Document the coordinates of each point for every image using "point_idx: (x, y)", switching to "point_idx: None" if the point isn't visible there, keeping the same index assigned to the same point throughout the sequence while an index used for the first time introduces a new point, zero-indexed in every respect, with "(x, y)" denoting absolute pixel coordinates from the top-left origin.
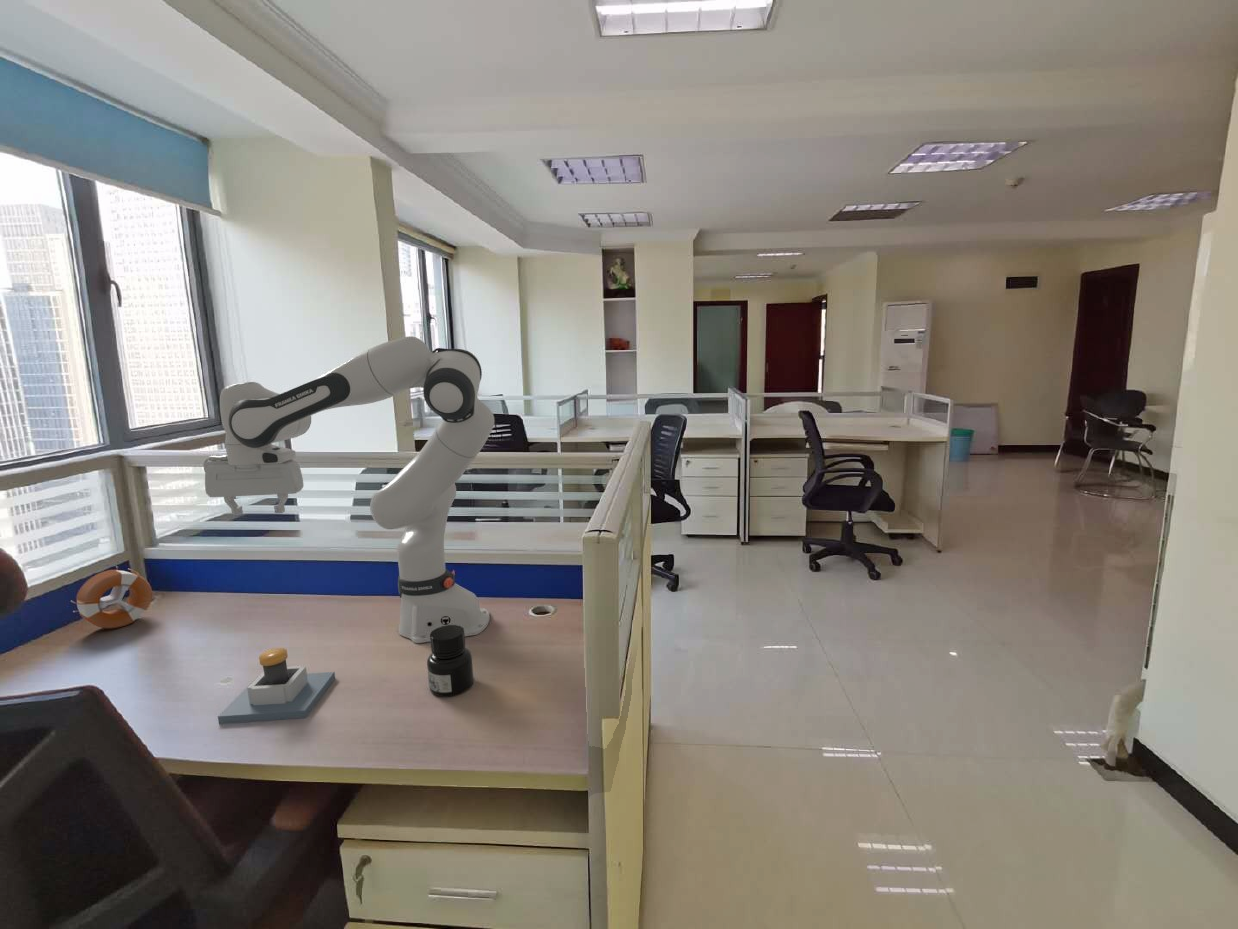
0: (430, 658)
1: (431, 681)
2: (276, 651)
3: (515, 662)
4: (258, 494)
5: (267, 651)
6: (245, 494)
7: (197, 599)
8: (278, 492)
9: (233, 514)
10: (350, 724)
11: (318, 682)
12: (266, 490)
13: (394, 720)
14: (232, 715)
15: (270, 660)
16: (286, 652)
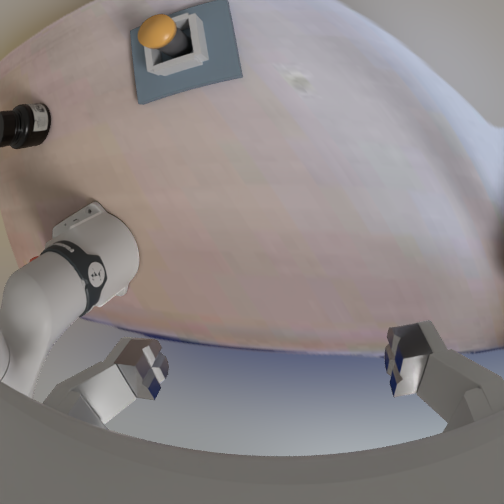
0: (23, 114)
1: (36, 105)
2: (154, 37)
3: (16, 175)
4: (159, 447)
5: (168, 33)
6: (303, 466)
7: (478, 333)
8: (28, 407)
9: (423, 321)
10: (90, 41)
11: (144, 78)
12: (73, 452)
13: (61, 61)
14: (208, 2)
15: (149, 18)
16: (138, 40)
